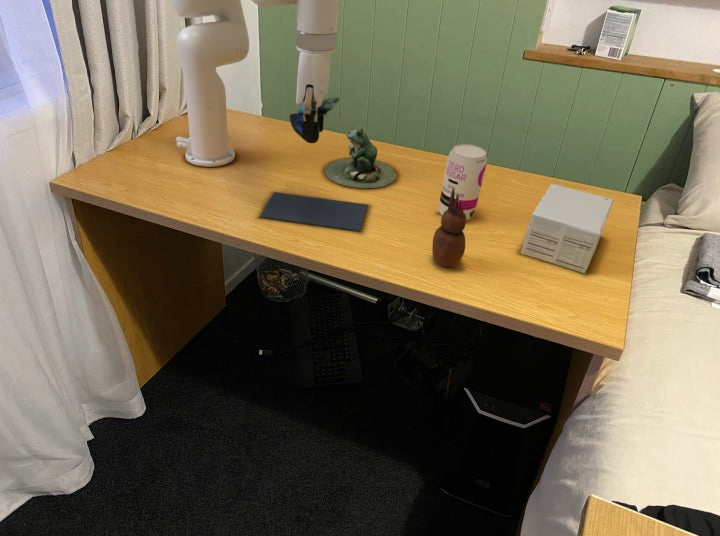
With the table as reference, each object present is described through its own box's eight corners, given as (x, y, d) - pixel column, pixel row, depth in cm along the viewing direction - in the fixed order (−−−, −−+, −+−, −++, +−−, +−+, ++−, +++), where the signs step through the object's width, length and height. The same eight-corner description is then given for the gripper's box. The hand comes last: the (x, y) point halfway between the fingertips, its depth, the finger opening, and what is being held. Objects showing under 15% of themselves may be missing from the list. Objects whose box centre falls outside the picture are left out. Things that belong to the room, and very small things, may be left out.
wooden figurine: (426, 252, 115) (439, 185, 106) (454, 252, 116) (469, 185, 107) (434, 271, 110) (448, 202, 101) (463, 271, 111) (480, 202, 102)
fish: (334, 149, 117) (337, 100, 110) (286, 143, 118) (287, 94, 112) (338, 141, 120) (341, 93, 114) (291, 136, 121) (292, 88, 115)
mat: (259, 217, 124) (259, 216, 123) (274, 193, 133) (274, 191, 133) (360, 231, 121) (360, 230, 121) (367, 206, 130) (367, 204, 130)
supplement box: (538, 220, 129) (550, 182, 123) (599, 237, 124) (615, 198, 118) (518, 253, 117) (531, 213, 111) (585, 274, 112) (602, 233, 106)
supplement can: (475, 209, 132) (490, 147, 122) (471, 225, 125) (486, 161, 116) (440, 202, 133) (453, 140, 124) (434, 218, 127) (447, 154, 118)
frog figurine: (331, 155, 152) (334, 111, 145) (399, 163, 150) (405, 120, 143) (318, 183, 138) (320, 137, 131) (392, 193, 136) (398, 146, 129)
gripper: (306, 29, 114) (303, 119, 125) (286, 49, 101) (285, 148, 112) (343, 32, 113) (337, 123, 124) (327, 53, 100) (322, 153, 111)
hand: (312, 134), depth 118 cm, fingers closed on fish, 4 cm apart
